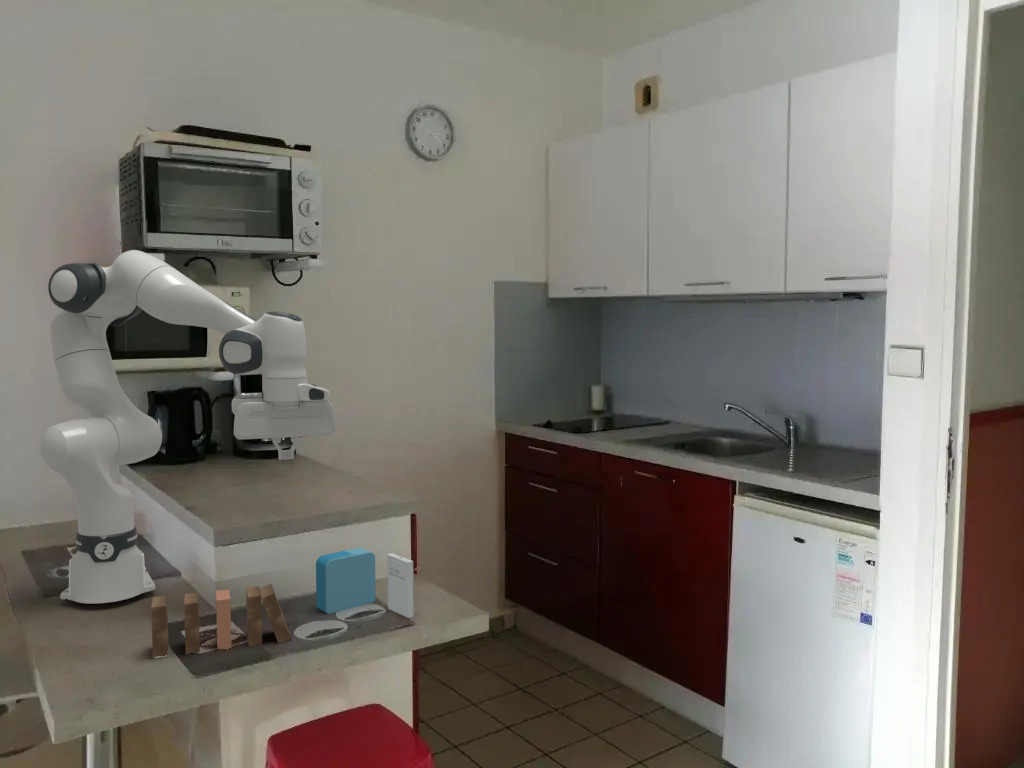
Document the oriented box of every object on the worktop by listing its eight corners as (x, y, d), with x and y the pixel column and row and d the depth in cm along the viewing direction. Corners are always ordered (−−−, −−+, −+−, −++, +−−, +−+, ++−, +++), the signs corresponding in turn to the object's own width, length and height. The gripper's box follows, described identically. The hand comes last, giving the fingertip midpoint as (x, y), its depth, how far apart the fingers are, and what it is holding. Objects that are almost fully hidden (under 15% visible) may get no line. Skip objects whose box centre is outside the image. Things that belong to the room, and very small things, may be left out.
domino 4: (248, 649, 156) (247, 597, 155) (247, 638, 161) (246, 587, 161) (262, 647, 157) (261, 595, 156) (260, 636, 162) (259, 586, 161)
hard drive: (393, 609, 178) (392, 552, 177) (415, 620, 171) (414, 560, 171) (386, 611, 176) (386, 554, 176) (408, 622, 170) (408, 562, 169)
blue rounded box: (365, 599, 184) (364, 546, 183) (376, 604, 181) (375, 550, 180) (316, 612, 176) (315, 556, 175) (326, 617, 173) (325, 560, 172)
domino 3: (217, 653, 154) (216, 600, 153) (217, 641, 159) (215, 590, 159) (231, 651, 155) (230, 599, 154) (230, 640, 160) (229, 589, 160)
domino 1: (152, 661, 150) (151, 607, 149) (154, 649, 156) (153, 597, 155) (167, 660, 151) (165, 605, 150) (168, 647, 156) (167, 595, 156)
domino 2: (185, 657, 152) (184, 603, 151) (186, 645, 158) (184, 593, 157) (199, 655, 153) (198, 602, 152) (199, 644, 158) (198, 592, 158)
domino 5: (279, 645, 158) (261, 598, 156) (276, 634, 163) (259, 588, 162) (291, 640, 158) (273, 593, 157) (288, 629, 164) (271, 583, 162)
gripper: (231, 394, 163) (233, 464, 164) (337, 391, 170) (338, 458, 171) (230, 392, 169) (232, 459, 170) (332, 389, 176) (333, 454, 177)
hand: (286, 459), depth 170 cm, fingers closed
